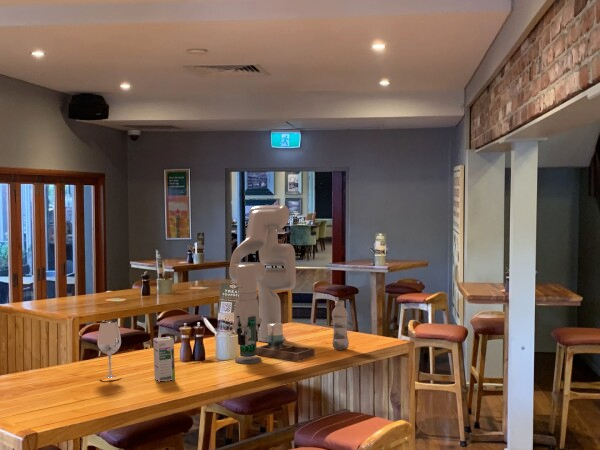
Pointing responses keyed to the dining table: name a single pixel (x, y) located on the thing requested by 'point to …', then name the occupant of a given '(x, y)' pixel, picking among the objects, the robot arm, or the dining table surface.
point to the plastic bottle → (340, 326)
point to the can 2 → (275, 336)
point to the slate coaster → (248, 360)
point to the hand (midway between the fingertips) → (248, 342)
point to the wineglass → (109, 340)
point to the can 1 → (249, 339)
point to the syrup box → (164, 359)
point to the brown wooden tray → (287, 352)
